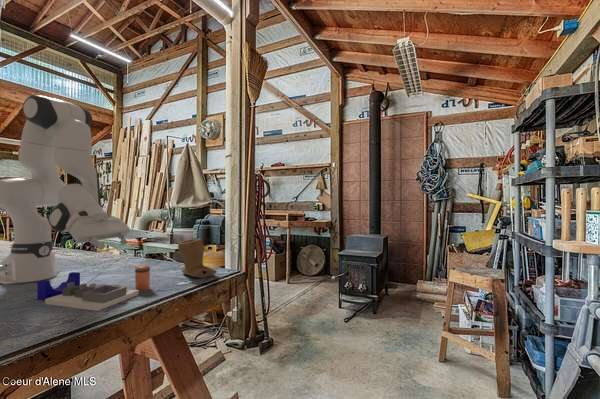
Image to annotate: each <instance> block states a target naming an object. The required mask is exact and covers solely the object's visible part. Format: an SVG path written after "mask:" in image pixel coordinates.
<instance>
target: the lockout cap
mask: <svg viewBox="0 0 600 399" xmlns="http://www.w3.org/2000/svg"><path fill="white" fill-rule="evenodd" d="M134 268H135V269H134V272H135V279H134V280H135V281H134V282H135V286H134V287H135V289H134V290H139V292H140V291H142V292H146V291H149V290H150V287H151V284H150V283H151V281H150V278H151V276H150V273H151V268H150V265H147V264H143V265H138V266H135V267H134Z"/></svg>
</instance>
